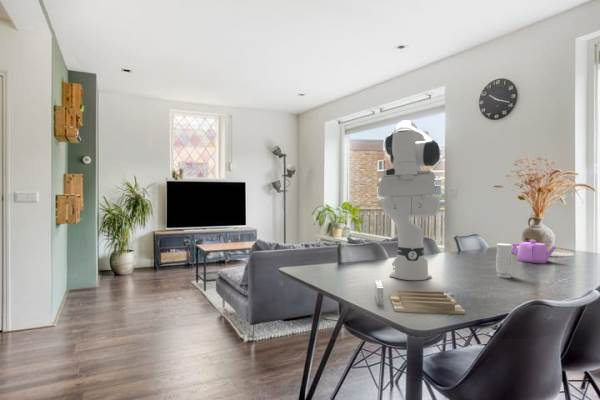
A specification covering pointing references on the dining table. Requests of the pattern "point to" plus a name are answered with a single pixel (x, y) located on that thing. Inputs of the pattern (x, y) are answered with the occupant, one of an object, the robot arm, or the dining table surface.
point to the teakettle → (532, 251)
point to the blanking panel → (379, 292)
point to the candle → (504, 260)
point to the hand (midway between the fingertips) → (407, 208)
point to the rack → (424, 302)
